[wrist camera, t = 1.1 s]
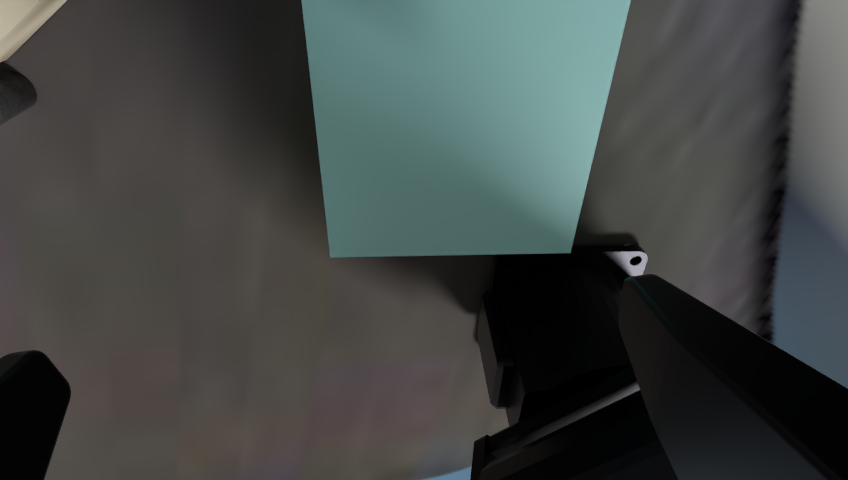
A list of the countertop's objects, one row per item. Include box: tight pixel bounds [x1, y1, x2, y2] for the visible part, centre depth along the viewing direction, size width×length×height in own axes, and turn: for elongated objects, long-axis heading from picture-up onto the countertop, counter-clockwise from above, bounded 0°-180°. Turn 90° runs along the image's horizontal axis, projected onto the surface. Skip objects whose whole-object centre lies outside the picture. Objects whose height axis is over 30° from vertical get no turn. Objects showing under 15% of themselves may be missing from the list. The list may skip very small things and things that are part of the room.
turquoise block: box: [302, 0, 631, 257], centre depth 13 cm, size 6×6×7 cm
